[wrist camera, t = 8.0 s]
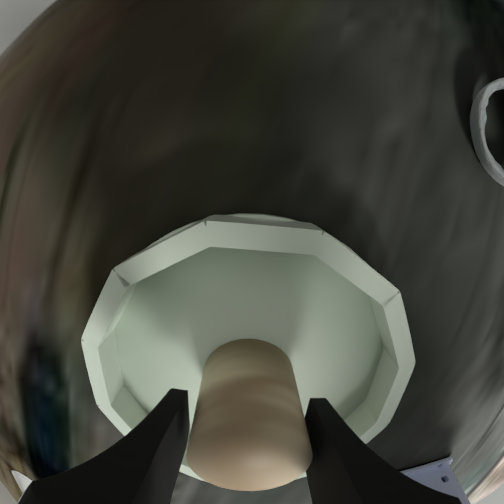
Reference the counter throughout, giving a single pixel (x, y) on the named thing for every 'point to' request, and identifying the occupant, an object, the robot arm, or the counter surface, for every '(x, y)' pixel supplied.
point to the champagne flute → (21, 481)
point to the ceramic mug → (478, 130)
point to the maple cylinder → (248, 419)
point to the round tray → (249, 319)
